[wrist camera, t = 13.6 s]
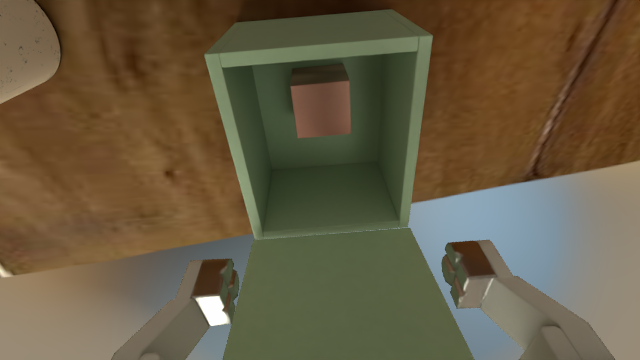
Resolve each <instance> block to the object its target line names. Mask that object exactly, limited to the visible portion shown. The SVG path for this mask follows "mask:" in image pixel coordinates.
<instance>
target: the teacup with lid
mask: <svg viewBox="0 0 640 360" xmlns="http://www.w3.org/2000/svg"><path fill="white" fill-rule="evenodd" d="M59 62H60V45H59V41H58V38H57V35H56V32H55V30H54V28H53V26H52V24H51V22H50V21H49V19H48V17H47V16H46V15H45V13H44V12H43V10H42V9H41V8H40V7H39V6H38V4H37V3H36V2H35V1H34V0H0V104H1V103H3V102H5V101H7V100H9V99H11V98H13V97H15V96H17V95H19V94H21V93H23V92H25V91H27V90H29V89H31V88H33V87H35V86H37V85H39V84H41V83H44V82H46V81H47V80H49V79H50V78H51V77H52V76H53V75H54V74H55V72H56V70H57V69H58V66H59Z"/></svg>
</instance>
